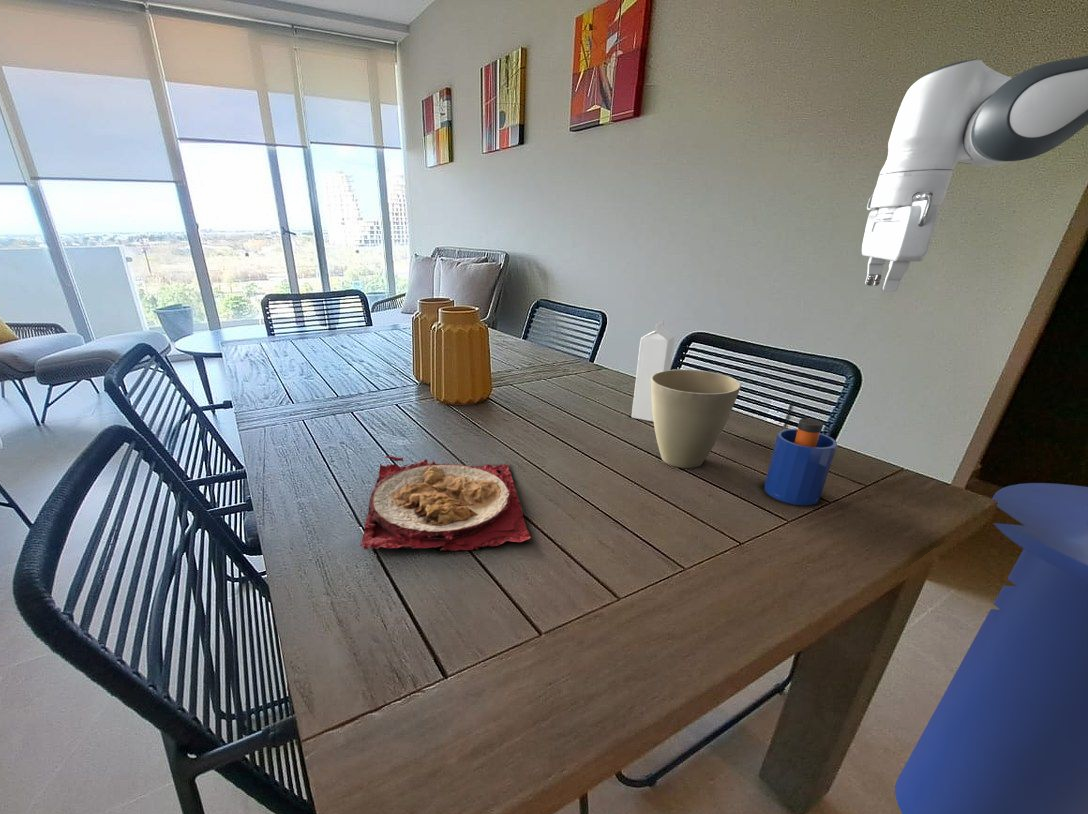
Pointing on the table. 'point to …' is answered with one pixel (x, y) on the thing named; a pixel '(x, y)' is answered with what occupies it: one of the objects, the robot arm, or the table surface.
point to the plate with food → (443, 507)
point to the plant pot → (690, 413)
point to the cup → (799, 469)
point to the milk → (651, 368)
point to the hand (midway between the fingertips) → (879, 288)
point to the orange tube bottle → (808, 432)
